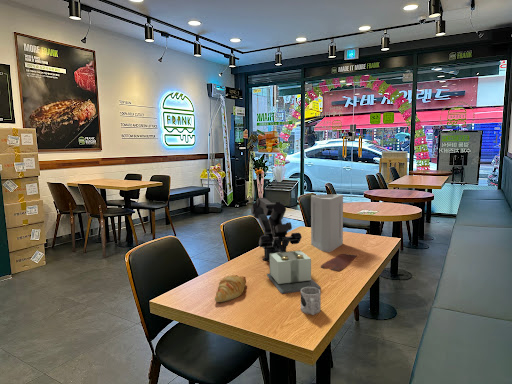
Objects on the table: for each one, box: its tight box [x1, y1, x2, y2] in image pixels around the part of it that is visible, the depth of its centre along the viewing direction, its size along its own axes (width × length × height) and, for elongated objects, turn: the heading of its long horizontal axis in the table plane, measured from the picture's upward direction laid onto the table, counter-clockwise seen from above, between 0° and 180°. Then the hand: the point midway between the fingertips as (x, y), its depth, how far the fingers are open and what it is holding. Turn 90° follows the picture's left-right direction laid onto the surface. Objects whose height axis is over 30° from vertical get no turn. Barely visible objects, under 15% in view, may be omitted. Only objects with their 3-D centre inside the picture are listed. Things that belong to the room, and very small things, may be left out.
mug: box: [300, 287, 322, 316], centre depth 113 cm, size 10×7×7 cm, turn 178°
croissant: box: [214, 274, 247, 303], centre depth 130 cm, size 21×10×8 cm, turn 155°
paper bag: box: [310, 193, 344, 253], centre depth 189 cm, size 19×15×28 cm
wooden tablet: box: [320, 253, 358, 272], centre depth 163 cm, size 27×10×2 cm, turn 144°
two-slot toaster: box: [268, 250, 312, 284], centre depth 142 cm, size 12×14×9 cm
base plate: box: [266, 255, 322, 295], centre depth 139 cm, size 20×16×11 cm
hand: (284, 256), depth 148 cm, fingers closed
